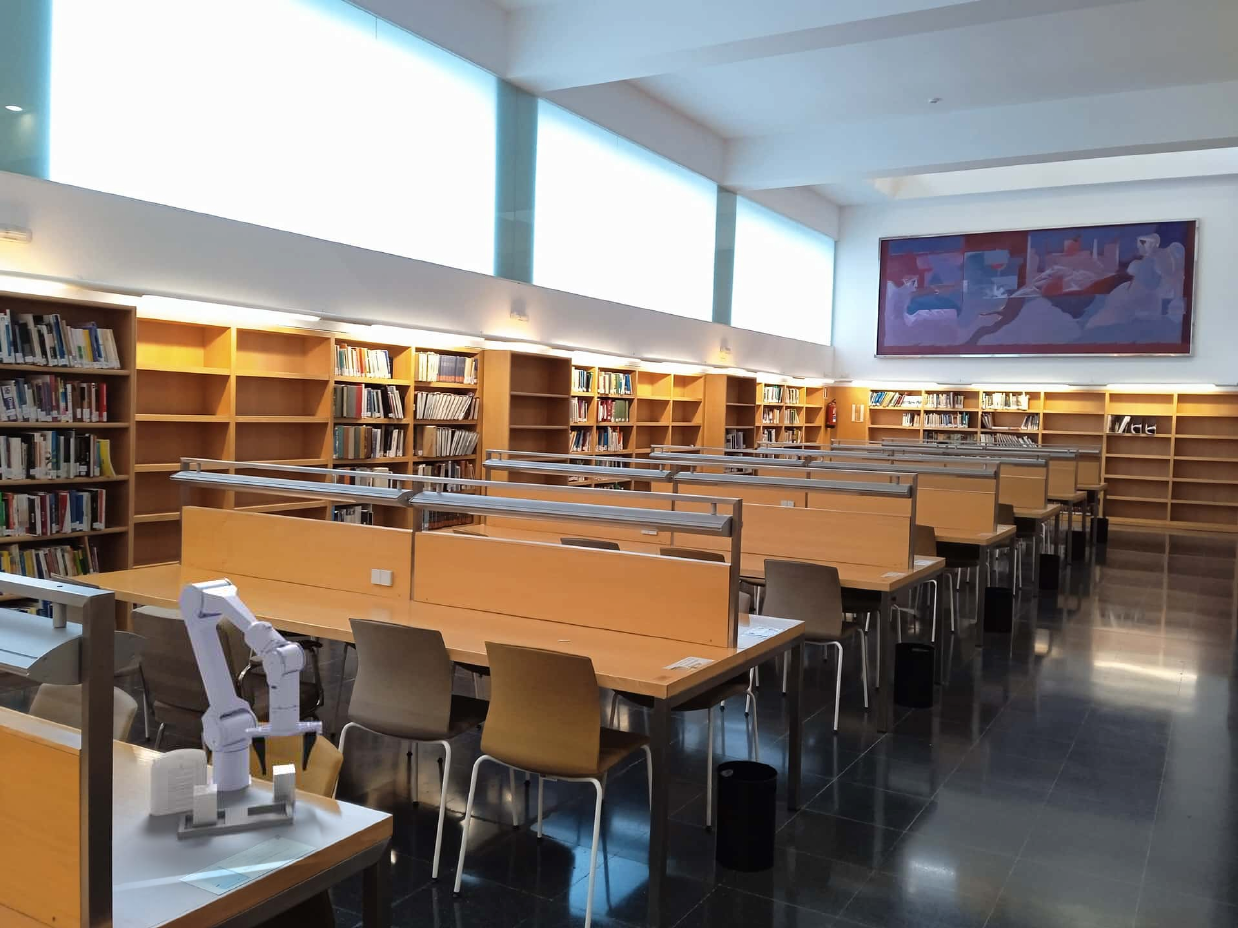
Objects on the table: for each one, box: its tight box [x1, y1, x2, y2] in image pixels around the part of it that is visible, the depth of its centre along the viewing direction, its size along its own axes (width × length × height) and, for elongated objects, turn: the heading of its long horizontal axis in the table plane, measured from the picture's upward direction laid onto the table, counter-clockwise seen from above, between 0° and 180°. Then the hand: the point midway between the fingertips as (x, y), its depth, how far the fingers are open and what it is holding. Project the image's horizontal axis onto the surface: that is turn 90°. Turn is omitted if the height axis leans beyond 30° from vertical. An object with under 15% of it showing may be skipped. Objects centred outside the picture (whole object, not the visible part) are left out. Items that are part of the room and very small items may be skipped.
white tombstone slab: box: [149, 748, 208, 817], centre depth 191 cm, size 10×4×12 cm, turn 123°
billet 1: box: [192, 783, 218, 828], centre depth 183 cm, size 5×4×7 cm
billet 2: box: [272, 763, 296, 804], centre depth 197 cm, size 5×4×7 cm
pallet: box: [177, 801, 294, 840], centre depth 185 cm, size 9×20×2 cm, turn 112°
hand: (284, 771), depth 197 cm, fingers open, 7 cm apart
